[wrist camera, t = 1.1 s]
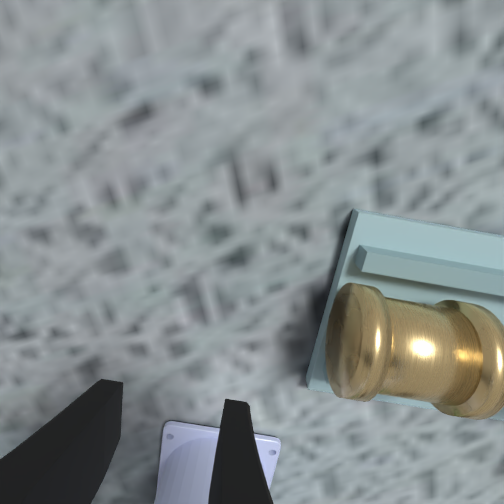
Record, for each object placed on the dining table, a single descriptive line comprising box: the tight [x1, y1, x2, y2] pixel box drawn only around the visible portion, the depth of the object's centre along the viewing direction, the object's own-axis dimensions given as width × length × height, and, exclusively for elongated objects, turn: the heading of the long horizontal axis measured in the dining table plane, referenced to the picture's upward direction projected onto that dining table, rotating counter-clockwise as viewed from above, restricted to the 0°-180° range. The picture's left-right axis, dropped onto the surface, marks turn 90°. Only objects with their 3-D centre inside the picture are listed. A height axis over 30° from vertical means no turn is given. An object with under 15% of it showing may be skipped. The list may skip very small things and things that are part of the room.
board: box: [306, 209, 504, 421], centre depth 17 cm, size 11×15×2 cm
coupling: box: [325, 282, 504, 420], centre depth 15 cm, size 6×5×5 cm
